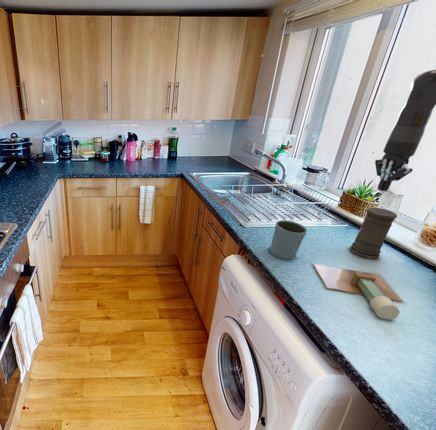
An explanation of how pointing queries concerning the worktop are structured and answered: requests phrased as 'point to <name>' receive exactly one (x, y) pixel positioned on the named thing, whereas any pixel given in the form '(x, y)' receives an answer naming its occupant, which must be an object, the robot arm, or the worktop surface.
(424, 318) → the worktop surface
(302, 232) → the grey cup
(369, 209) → the container
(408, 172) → the robot arm
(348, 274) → the brown flat board
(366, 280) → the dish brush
